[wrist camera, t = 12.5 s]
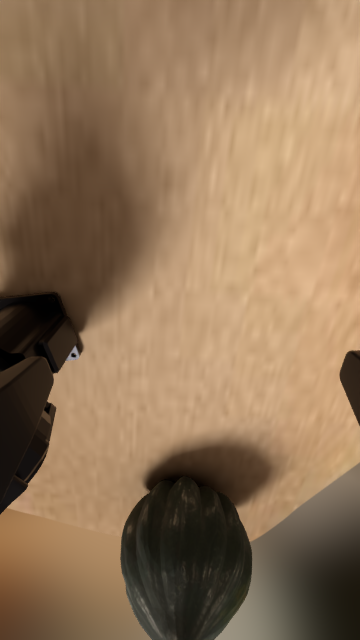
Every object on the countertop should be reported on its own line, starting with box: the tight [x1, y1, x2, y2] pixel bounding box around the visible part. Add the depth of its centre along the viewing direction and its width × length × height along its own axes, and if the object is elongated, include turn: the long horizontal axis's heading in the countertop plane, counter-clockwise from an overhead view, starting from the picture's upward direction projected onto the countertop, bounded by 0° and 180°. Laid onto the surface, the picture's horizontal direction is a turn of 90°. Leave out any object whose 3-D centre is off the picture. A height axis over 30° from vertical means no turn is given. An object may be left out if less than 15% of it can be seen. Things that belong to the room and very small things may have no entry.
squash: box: [121, 476, 252, 640], centre depth 30 cm, size 14×15×15 cm
